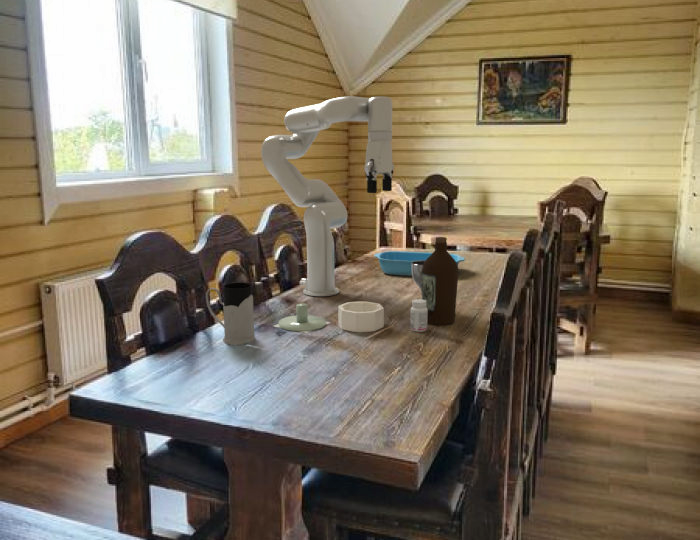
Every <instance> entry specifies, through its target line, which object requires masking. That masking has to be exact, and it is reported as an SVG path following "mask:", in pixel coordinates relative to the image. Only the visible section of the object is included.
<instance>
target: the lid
mask: <svg viewBox="0 0 700 540" xmlns="http://www.w3.org/2000/svg"><path fill="white" fill-rule="evenodd" d="M308 305H309V304H307V303H297V304H296V305H295V306H296V307H295V309H296V310H295V311H296V315H291V316H286V317H283V318H281V319H279V320H278V324H279V327H280V329H282V330H286V331H291V332H299V331H310V332H312V331H311V330H313V331H316V330H321V329H322V328H324V327H325V326H326V322H327V321H326V319H324V318H323V317H321V316H316V315H308V314H309V313H308V311H309V310H308ZM279 327H278V328H279Z"/></svg>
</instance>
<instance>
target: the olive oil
mask: <svg viewBox="0 0 700 540" xmlns="http://www.w3.org/2000/svg"><path fill="white" fill-rule="evenodd" d="M447 239H448V238H447V237H444V236H436V237H435V242H434V251H433V252H431V253H432V254H431V255H430V256H429V257H428V258H427V259H426V260H425V262H424V264H423V267H422V292H423V300H426V307H427V309H428V315H427V325H428V324H429V325H432V326H433V325H434V326H448V325H451V324H454V323H455V321H456V306H457V305H456V304H457V294H458V283H459V273H460V272H459V264H458V265H457V263H456V261H455V260H454V259H453V258H452V256H451V255H450V254H451V253H449V252H448V250H447V249H448V246H447V245H448V242H447Z"/></svg>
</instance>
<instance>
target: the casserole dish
mask: <svg viewBox="0 0 700 540" xmlns="http://www.w3.org/2000/svg"><path fill="white" fill-rule="evenodd" d="M432 253H433V252H429V251H428V252H426V251H425V252H423V251H405V250H403V251H400V250H387V251H382V252H378V253H375V254H374V255H373V256H374V257H375V258H377V259H378V262H379V266H380V269H381V271H382V272H383V273H385V274H387V275H391V276H392V275H394V276H406V277H407V276H409V277H410V276H412V270H411V263H412V262H413V261H418V260H426V259H427V258H428V257H429V256H430V255H431V254H432ZM449 254H450V255H451V256H452V258H453V259H454V260H455V261H456V263H457V265H458V266H459V263H460V262H461V263H462V262H464V261H465V260H466V259H465V257H463V256H461V255H459V254H455V253H449Z"/></svg>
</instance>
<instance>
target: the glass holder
mask: <svg viewBox="0 0 700 540" xmlns="http://www.w3.org/2000/svg"><path fill="white" fill-rule="evenodd" d="M222 286H223V287H222V292H223V293H222V294H223V301H222V295H221V292H220V290H219V289H218V288H216V287H210V288H208V289H207V291H206V293H205V300H206V306H207V308H208V311H209V313H210V314H211V316H212V317H213V318H214V319H215V320H216V321H217V323H219V324H220V325H221V326H222V327H223V329H224V338H223V339H222V341H223V343H224V344H226V345H229V344H230V346H244V345H247V343H250V342H252V341H254V340H256V337H257V336H256V335H255V319H254V317H255V316H254V295H253V284H252V283H249V282H230V283H226V284H224V285H222ZM211 290H213V291H215V292H216V293H217V295H218V301H219V304H221V305H223V307H222V308H223V321H221V320H220V319H219V318H218V317H217V315H216V314H215V313H214V311H213V310H212V307H211V306H210V301H209V292H210V291H211Z"/></svg>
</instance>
